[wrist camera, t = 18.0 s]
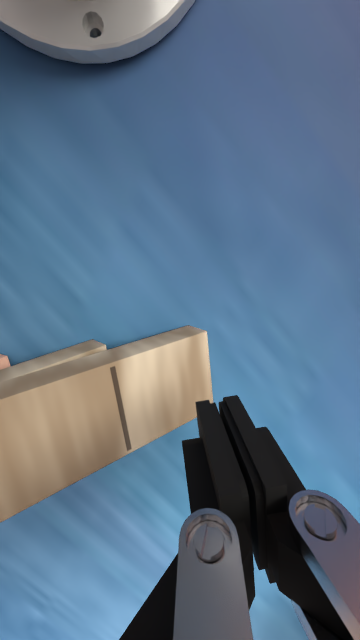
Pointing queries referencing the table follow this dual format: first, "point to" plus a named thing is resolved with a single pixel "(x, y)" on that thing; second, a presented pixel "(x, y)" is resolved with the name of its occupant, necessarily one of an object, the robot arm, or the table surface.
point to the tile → (52, 359)
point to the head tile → (96, 412)
